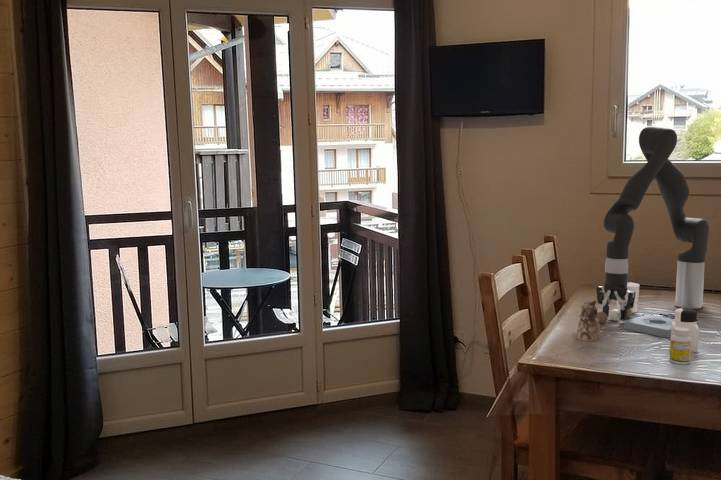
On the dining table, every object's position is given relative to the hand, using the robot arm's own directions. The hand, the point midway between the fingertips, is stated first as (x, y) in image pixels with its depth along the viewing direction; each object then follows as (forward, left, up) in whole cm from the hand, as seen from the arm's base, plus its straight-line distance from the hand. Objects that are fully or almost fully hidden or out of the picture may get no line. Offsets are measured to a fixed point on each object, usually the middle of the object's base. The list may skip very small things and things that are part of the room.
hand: (614, 318), depth 251 cm
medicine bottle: (+14, +32, -1) cm, 35 cm away
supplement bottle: (+28, +38, -1) cm, 47 cm away
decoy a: (-7, 0, +1) cm, 7 cm away
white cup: (-16, -5, -1) cm, 17 cm away
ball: (0, 0, +1) cm, 1 cm away
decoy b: (+6, -1, +1) cm, 7 cm away
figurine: (+26, +7, -1) cm, 27 cm away
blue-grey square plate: (-1, +16, -1) cm, 16 cm away
